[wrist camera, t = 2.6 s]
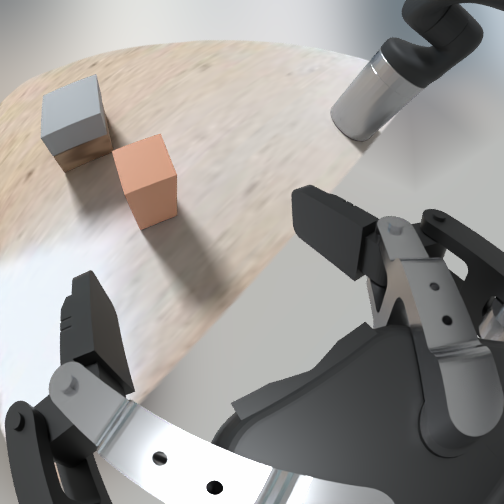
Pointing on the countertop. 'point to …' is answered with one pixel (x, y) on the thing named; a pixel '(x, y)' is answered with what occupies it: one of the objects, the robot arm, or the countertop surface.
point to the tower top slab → (72, 115)
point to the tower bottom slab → (85, 151)
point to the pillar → (148, 180)
